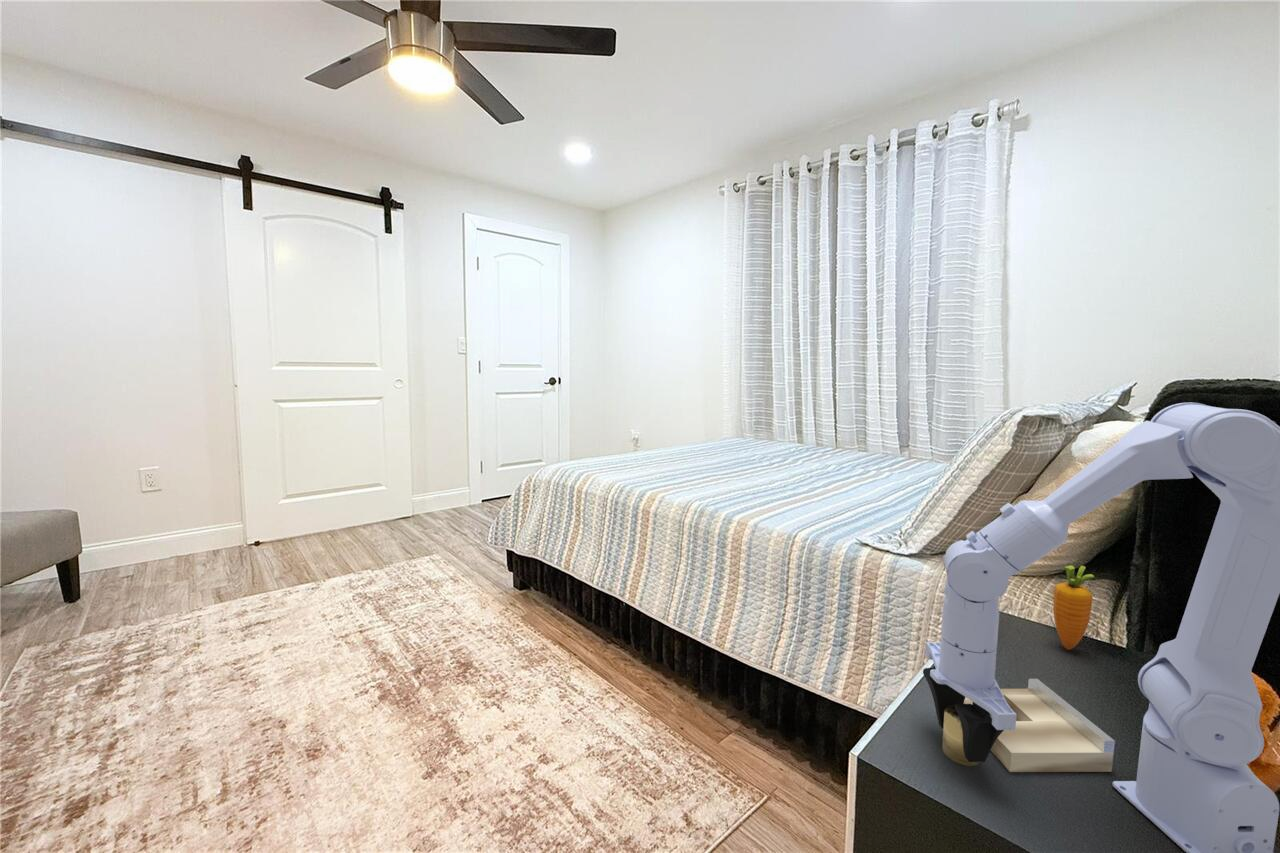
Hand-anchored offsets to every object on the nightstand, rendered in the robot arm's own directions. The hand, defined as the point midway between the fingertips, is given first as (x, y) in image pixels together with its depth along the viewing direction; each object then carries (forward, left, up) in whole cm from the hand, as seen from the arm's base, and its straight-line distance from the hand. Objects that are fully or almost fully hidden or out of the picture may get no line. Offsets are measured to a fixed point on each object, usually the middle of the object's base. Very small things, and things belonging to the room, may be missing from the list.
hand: (961, 742), depth 64 cm
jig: (+3, -10, -1) cm, 11 cm away
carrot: (+23, -32, -2) cm, 39 cm away
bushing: (0, 0, -1) cm, 1 cm away
